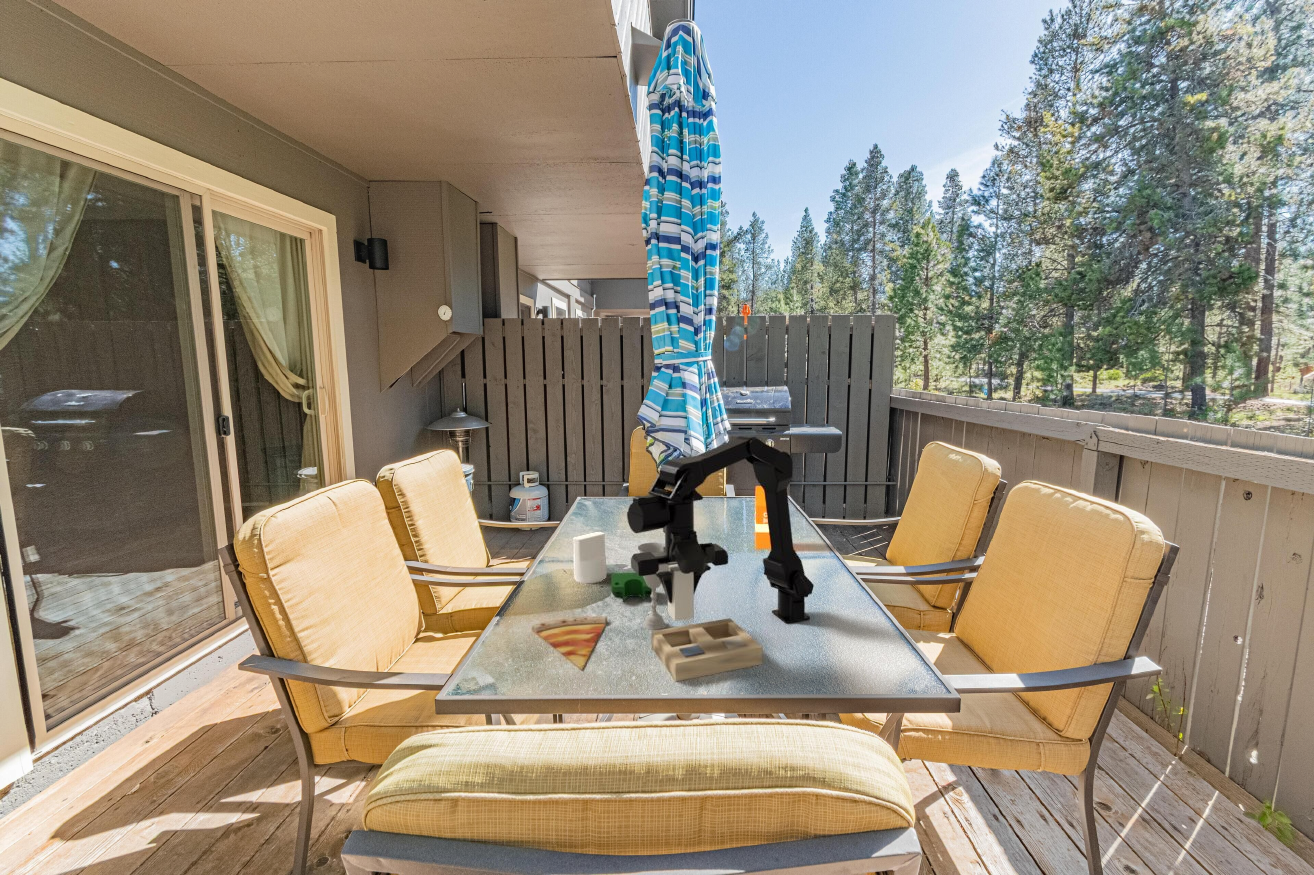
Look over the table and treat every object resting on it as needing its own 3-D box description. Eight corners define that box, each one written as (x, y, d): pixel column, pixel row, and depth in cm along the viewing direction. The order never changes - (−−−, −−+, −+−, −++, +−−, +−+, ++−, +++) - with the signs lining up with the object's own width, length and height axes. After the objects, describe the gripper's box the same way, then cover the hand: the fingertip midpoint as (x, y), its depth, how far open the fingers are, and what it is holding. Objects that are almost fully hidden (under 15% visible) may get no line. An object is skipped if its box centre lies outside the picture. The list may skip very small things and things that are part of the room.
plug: (667, 612, 116) (667, 565, 115) (686, 609, 117) (685, 562, 116) (675, 621, 112) (674, 571, 111) (693, 617, 113) (693, 568, 112)
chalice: (634, 621, 132) (632, 544, 130) (661, 615, 134) (660, 541, 132) (646, 634, 125) (645, 554, 123) (674, 628, 128) (673, 549, 126)
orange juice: (754, 543, 190) (755, 483, 187) (782, 544, 188) (782, 484, 186) (755, 550, 182) (755, 488, 180) (783, 551, 181) (784, 488, 179)
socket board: (651, 647, 119) (651, 630, 119) (730, 633, 125) (730, 616, 124) (675, 681, 106) (675, 662, 105) (762, 664, 112) (762, 645, 111)
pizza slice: (503, 669, 112) (503, 659, 112) (541, 620, 134) (541, 612, 134) (581, 673, 110) (581, 663, 110) (607, 623, 132) (607, 615, 132)
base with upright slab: (586, 585, 154) (584, 542, 153) (567, 577, 161) (566, 535, 159) (612, 577, 160) (611, 535, 158) (594, 569, 167) (593, 529, 165)
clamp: (619, 617, 144) (604, 589, 141) (620, 602, 150) (605, 575, 147) (663, 600, 143) (649, 572, 140) (662, 586, 149) (648, 558, 146)
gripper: (646, 541, 102) (648, 624, 104) (741, 529, 108) (741, 609, 110) (629, 525, 113) (631, 601, 114) (716, 516, 119) (716, 588, 120)
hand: (680, 600), depth 114 cm, fingers closed on plug, 4 cm apart
